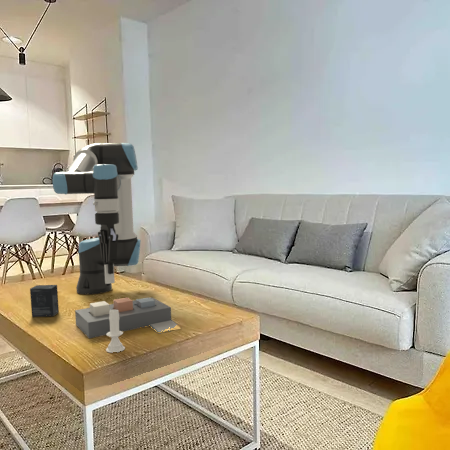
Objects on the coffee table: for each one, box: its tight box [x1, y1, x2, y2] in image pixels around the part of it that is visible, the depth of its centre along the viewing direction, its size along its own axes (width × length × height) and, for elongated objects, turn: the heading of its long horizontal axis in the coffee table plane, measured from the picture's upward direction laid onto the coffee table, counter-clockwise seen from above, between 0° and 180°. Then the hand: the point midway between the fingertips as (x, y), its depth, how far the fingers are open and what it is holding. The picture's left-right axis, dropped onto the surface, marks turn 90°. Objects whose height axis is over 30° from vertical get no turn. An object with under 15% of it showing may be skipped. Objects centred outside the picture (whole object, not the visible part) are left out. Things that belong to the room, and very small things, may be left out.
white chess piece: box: [105, 309, 126, 354], centre depth 125 cm, size 5×5×12 cm
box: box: [29, 284, 60, 318], centre depth 160 cm, size 8×6×11 cm
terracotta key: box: [112, 297, 133, 312], centre depth 149 cm, size 5×5×4 cm
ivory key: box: [89, 300, 110, 317], centre depth 144 cm, size 5×5×4 cm
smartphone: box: [149, 319, 178, 333], centre depth 147 cm, size 8×1×15 cm
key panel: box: [74, 297, 172, 339], centre depth 149 cm, size 16×28×5 cm, turn 123°
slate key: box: [135, 297, 155, 308], centre depth 153 cm, size 5×5×4 cm
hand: (109, 282), depth 145 cm, fingers closed
